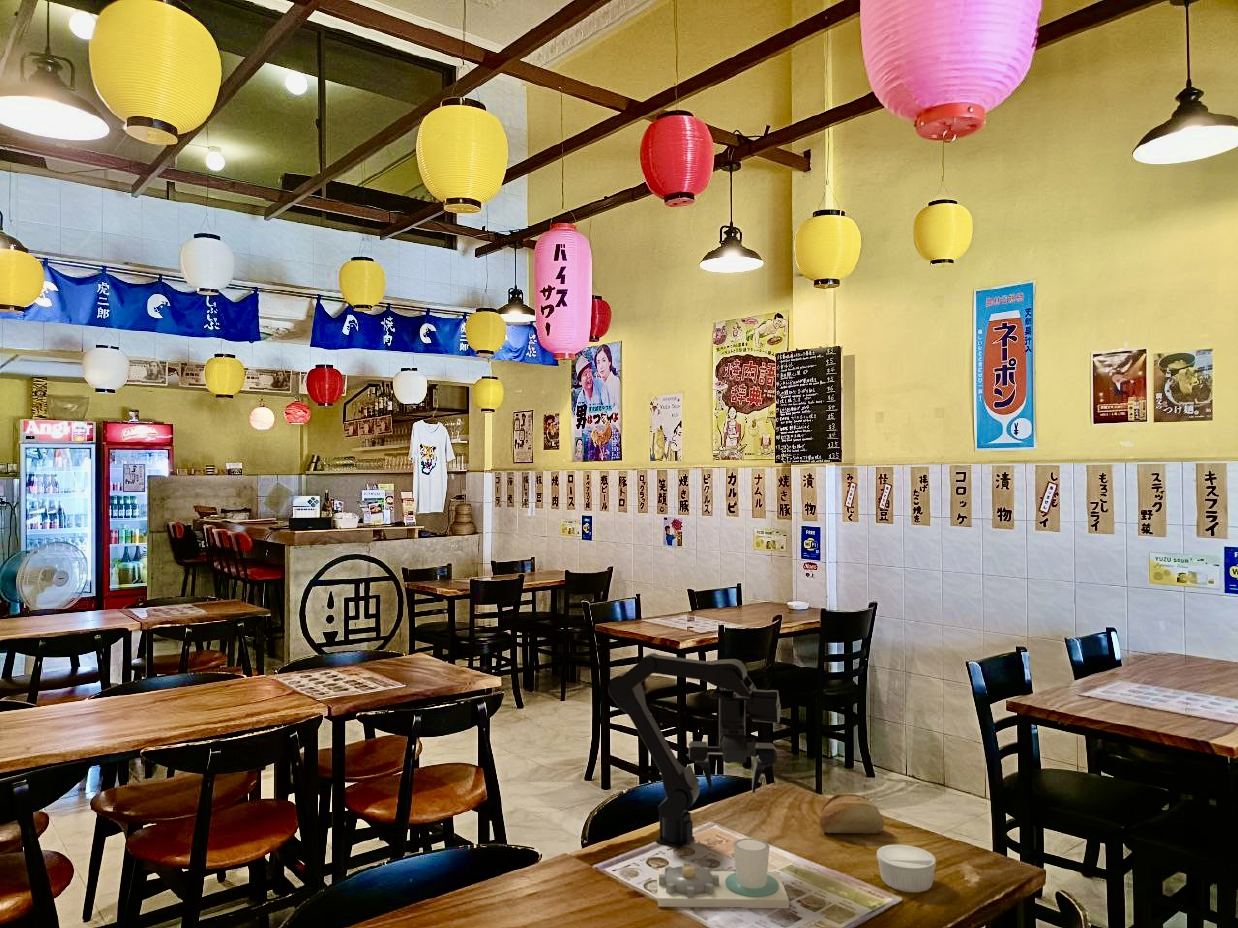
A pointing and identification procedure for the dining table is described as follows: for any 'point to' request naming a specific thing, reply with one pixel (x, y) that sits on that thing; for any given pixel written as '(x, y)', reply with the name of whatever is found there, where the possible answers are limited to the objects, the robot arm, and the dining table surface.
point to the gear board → (716, 889)
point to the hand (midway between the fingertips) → (732, 791)
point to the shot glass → (751, 862)
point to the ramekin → (906, 867)
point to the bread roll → (850, 815)
